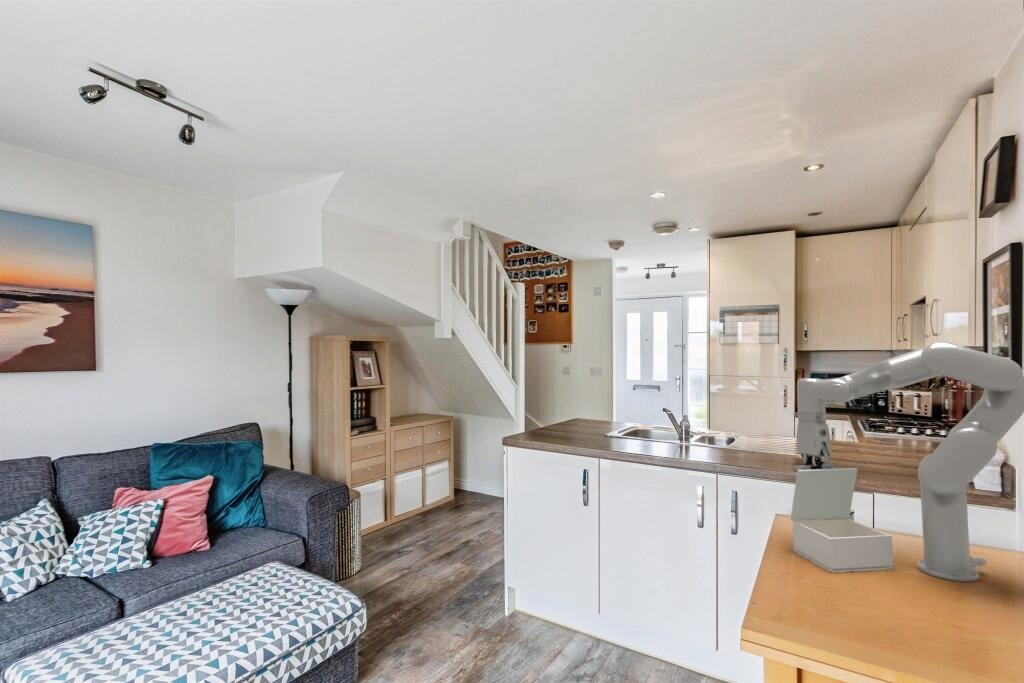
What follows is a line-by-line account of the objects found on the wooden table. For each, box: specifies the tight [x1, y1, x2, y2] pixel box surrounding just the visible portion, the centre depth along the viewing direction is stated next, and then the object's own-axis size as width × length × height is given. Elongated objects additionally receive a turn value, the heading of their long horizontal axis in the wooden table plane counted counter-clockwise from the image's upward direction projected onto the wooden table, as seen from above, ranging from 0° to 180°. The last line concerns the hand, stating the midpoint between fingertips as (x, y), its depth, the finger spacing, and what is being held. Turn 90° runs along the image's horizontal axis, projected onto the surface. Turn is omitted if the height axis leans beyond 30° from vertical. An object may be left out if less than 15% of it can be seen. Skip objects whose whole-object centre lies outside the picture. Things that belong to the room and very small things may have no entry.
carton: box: [792, 519, 894, 574], centre depth 147 cm, size 18×16×9 cm
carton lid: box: [790, 463, 858, 522], centre depth 157 cm, size 18×16×7 cm
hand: (813, 477), depth 158 cm, fingers closed on carton lid, 2 cm apart
